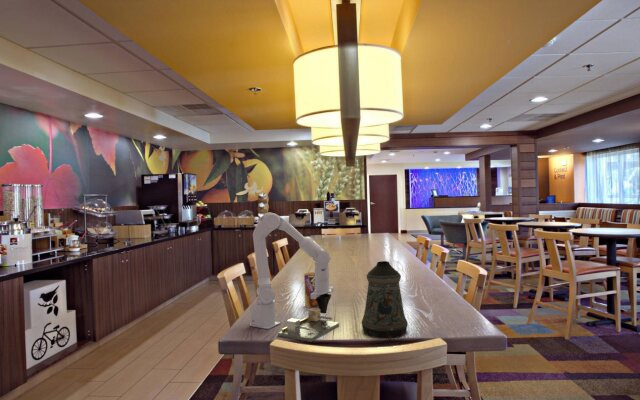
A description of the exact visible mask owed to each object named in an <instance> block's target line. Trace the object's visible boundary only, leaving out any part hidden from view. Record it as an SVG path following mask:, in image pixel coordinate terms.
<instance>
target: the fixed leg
mask: <svg viewBox="0 0 640 400" xmlns="http://www.w3.org/2000/svg"><path fill="white" fill-rule="evenodd" d="M300 320H301V319H297V318H292V317H291V318H289V319H288V320H286V327H287V332H292V333H296V332H298V331H300V329H306V330H312V328H309V327H303V326H300Z"/></svg>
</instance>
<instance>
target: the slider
mask: <svg viewBox="0 0 640 400" xmlns="http://www.w3.org/2000/svg"><path fill="white" fill-rule="evenodd" d="M307 312H308V315H307V317H308V318H309V320H310V321H318V320H321V319H322V320H324V319H325V320H329V321H331V320H333V318H332V317H331V316H330V317H329V316H324V315H321V313H320V309H319V308H315V307H311V308H309V309H308V311H307Z"/></svg>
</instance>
